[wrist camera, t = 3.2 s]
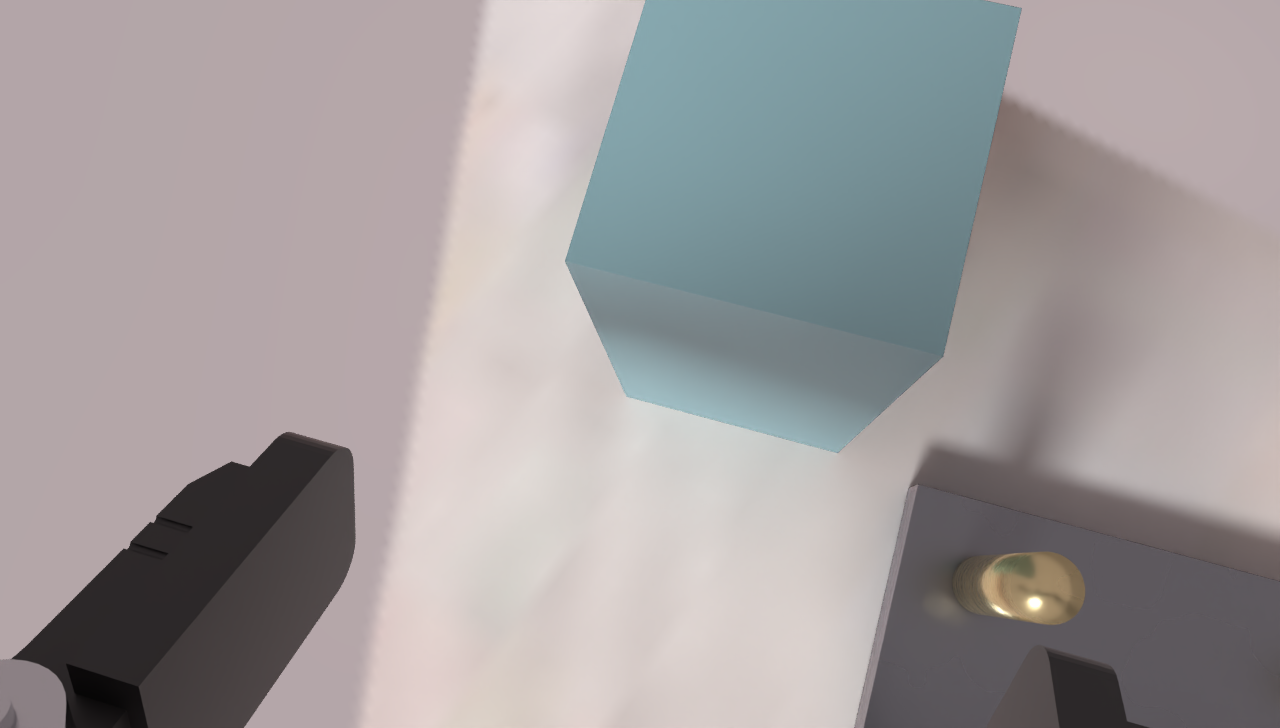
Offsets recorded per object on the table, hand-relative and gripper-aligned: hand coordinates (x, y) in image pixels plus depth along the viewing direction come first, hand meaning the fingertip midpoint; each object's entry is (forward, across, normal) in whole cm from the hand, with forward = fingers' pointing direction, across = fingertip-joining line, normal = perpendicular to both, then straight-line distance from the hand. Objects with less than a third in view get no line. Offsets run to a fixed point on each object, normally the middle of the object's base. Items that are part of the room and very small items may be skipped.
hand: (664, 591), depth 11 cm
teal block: (+12, 0, +3) cm, 12 cm away
